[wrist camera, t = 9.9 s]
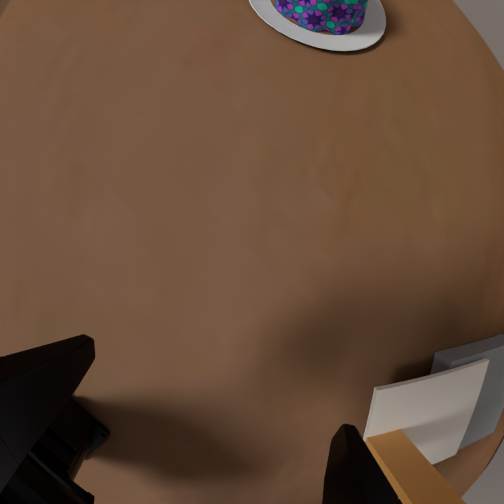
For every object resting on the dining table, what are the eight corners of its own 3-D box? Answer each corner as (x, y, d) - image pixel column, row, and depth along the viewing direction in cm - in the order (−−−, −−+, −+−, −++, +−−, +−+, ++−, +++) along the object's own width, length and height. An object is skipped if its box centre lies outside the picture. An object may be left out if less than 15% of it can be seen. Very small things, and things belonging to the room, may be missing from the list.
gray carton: (405, 454, 23) (416, 467, 20) (435, 351, 22) (451, 361, 19) (482, 423, 24) (493, 431, 22) (510, 331, 23) (525, 337, 20)
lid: (348, 487, 19) (391, 569, 9) (374, 387, 18) (457, 476, 8) (453, 452, 20) (506, 505, 10) (485, 358, 20) (565, 401, 9)
